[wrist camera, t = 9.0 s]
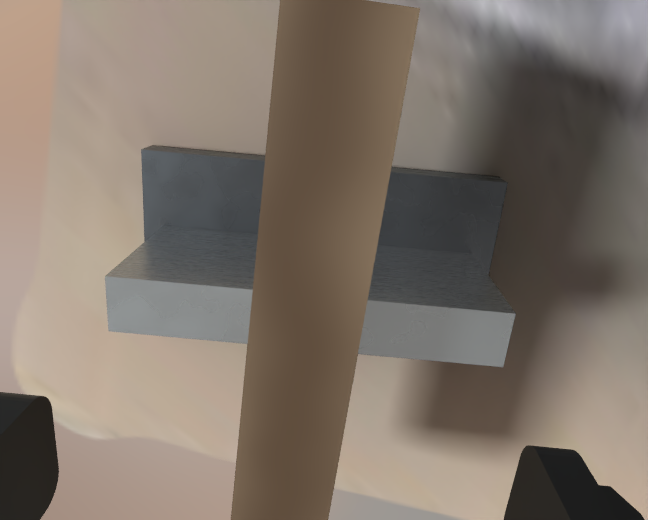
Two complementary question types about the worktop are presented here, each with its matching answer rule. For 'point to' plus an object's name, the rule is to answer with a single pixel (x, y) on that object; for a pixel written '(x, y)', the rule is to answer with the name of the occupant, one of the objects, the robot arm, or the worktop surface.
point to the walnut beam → (317, 244)
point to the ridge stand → (388, 272)
